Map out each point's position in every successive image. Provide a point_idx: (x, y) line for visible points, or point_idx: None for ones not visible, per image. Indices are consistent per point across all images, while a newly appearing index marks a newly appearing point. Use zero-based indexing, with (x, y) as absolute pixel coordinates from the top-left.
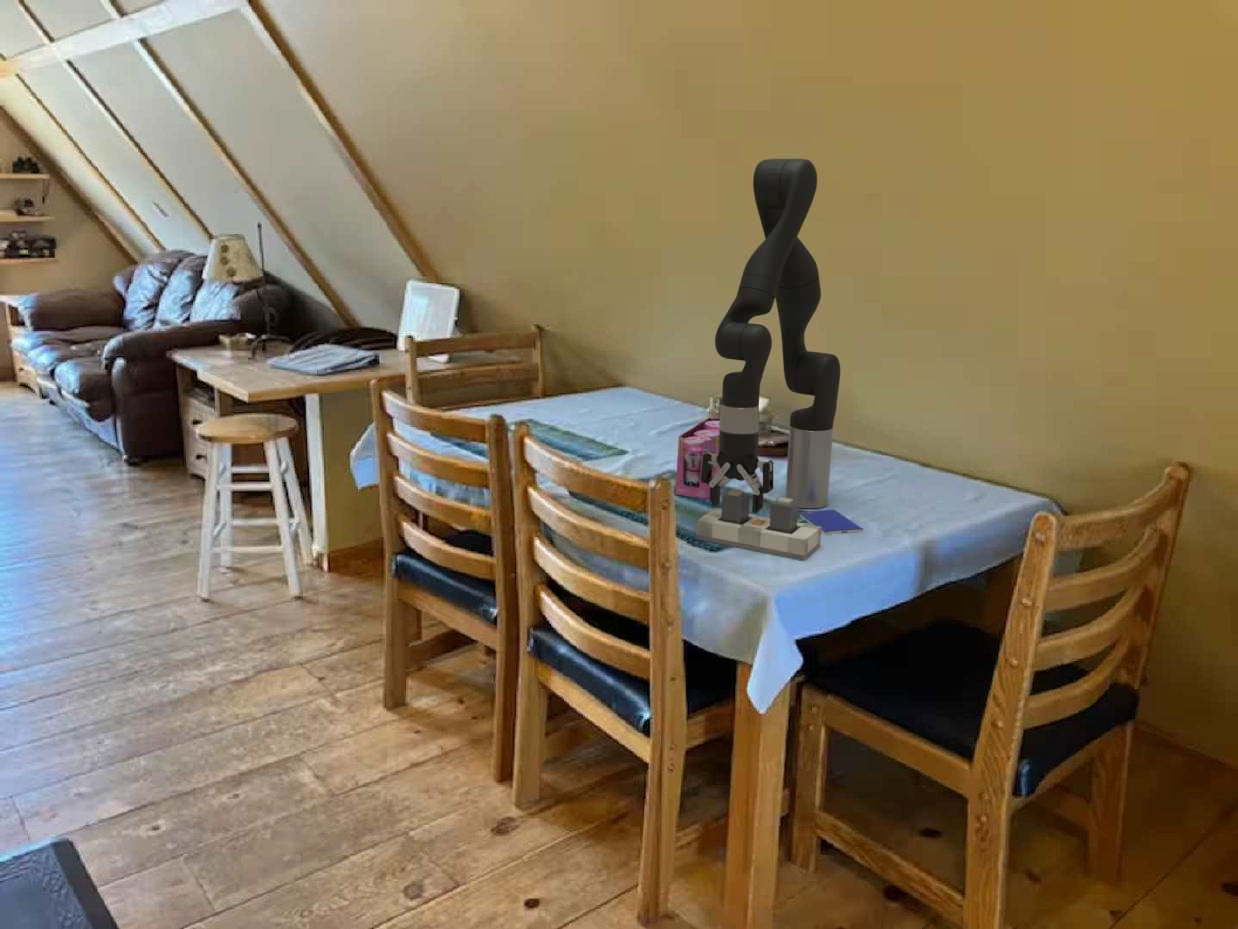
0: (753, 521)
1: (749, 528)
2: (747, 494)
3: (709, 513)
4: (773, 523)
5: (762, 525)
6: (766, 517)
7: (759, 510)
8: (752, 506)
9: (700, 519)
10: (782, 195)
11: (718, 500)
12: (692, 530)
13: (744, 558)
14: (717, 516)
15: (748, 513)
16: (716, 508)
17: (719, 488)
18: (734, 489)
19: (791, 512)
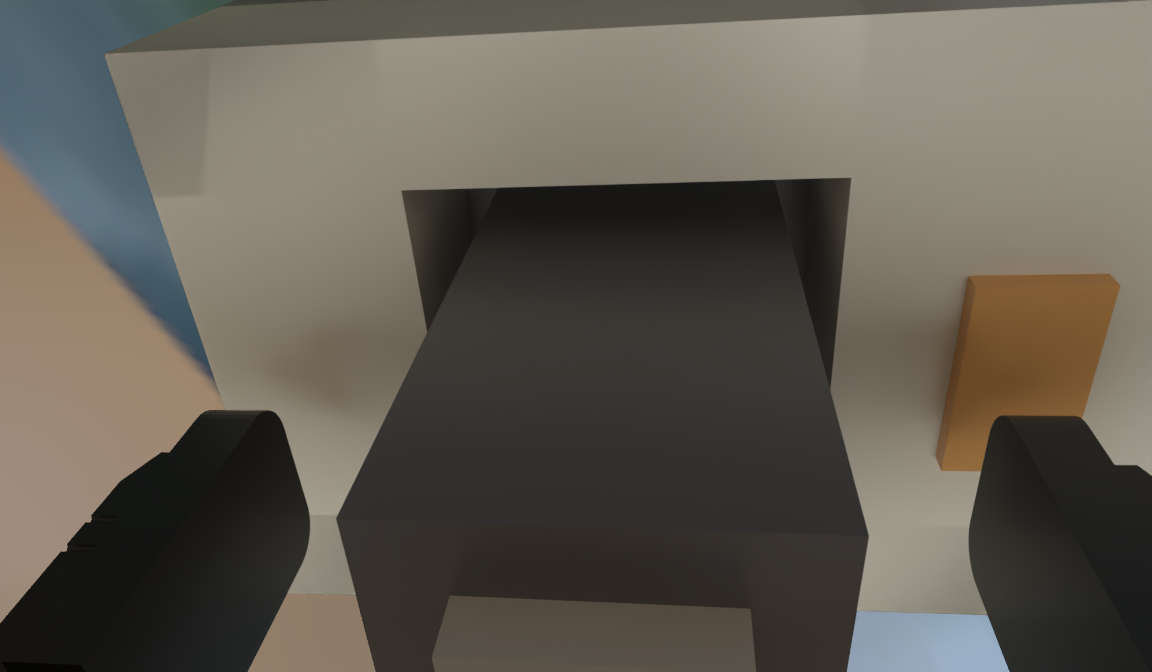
0: (915, 342)
1: (945, 585)
2: (836, 609)
3: (228, 354)
4: None
5: (1092, 428)
6: (1082, 39)
7: (1071, 422)
8: (1004, 656)
9: (306, 574)
10: None
11: (254, 485)
12: (162, 260)
13: (930, 619)
14: (383, 401)
15: (799, 291)
16: (127, 91)
17: (123, 650)
18: (472, 665)
19: None
